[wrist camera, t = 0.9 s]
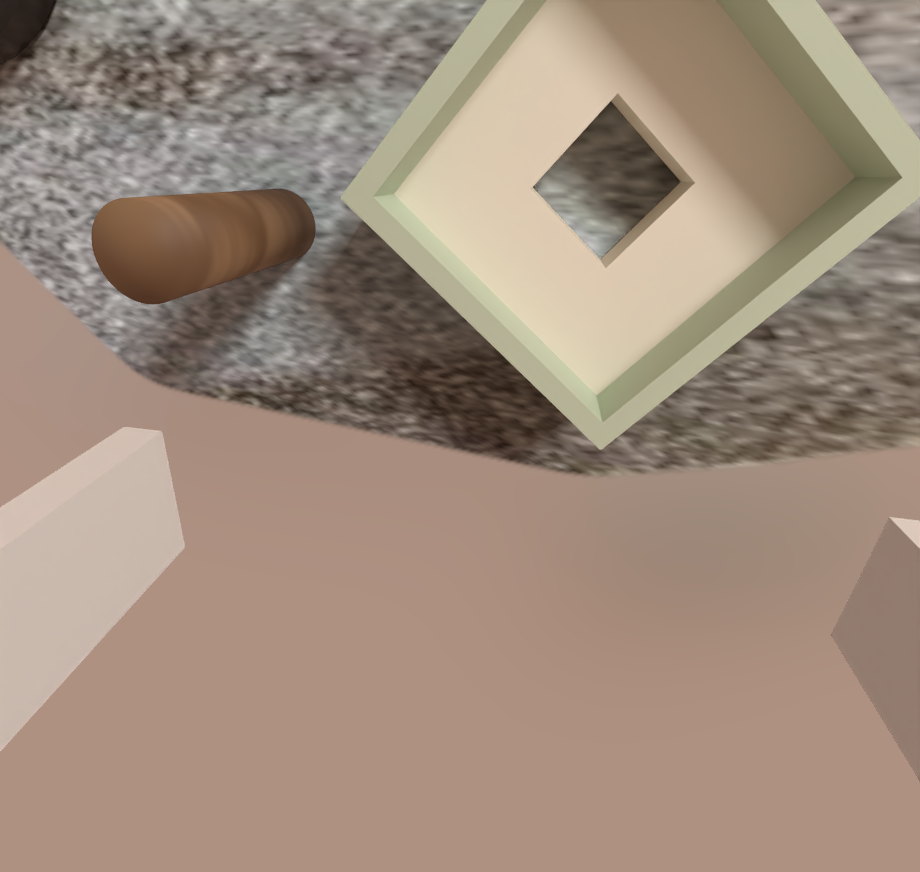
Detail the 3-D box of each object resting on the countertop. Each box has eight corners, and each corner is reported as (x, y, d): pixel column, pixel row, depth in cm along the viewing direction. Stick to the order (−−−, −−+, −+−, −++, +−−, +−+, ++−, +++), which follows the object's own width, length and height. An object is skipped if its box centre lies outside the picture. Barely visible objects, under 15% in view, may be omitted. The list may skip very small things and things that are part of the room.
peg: (240, 226, 31) (75, 254, 20) (275, 173, 30) (119, 173, 19) (291, 273, 32) (158, 324, 21) (328, 223, 30) (206, 251, 20)
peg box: (381, 192, 29) (340, 197, 23) (625, -121, 23) (651, -221, 17) (591, 400, 32) (600, 450, 26) (857, 175, 26) (946, 176, 20)
